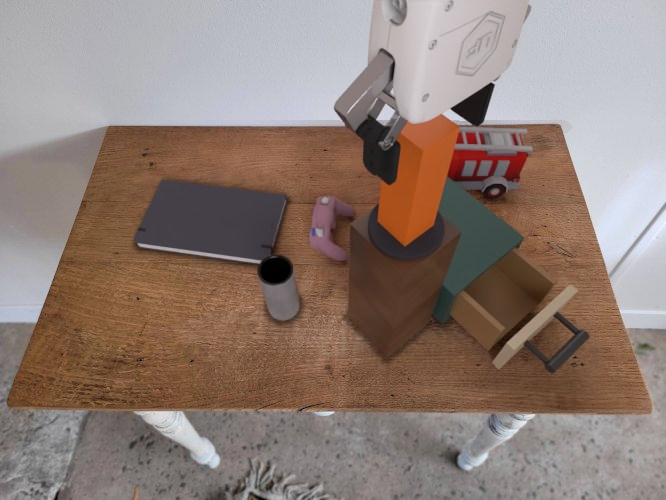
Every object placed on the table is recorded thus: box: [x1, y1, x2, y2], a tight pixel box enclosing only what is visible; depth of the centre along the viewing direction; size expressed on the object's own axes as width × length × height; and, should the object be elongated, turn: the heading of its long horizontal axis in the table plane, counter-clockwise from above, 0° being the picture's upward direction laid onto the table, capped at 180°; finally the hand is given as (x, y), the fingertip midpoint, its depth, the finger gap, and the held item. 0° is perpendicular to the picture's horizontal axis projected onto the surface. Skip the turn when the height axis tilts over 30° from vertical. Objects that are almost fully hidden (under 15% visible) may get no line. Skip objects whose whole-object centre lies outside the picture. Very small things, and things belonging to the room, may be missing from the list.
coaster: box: [368, 203, 444, 259], centre depth 49 cm, size 8×8×1 cm
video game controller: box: [308, 195, 355, 262], centre depth 73 cm, size 10×5×7 cm, turn 172°
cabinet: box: [432, 177, 525, 325], centre depth 69 cm, size 15×14×9 cm
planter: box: [256, 254, 301, 321], centre depth 64 cm, size 4×4×10 cm
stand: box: [347, 207, 462, 359], centre depth 58 cm, size 8×8×22 cm
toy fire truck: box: [447, 126, 534, 200], centre depth 77 cm, size 9×19×10 cm, turn 90°
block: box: [378, 113, 461, 246], centre depth 43 cm, size 4×4×13 cm
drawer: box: [449, 247, 591, 374], centre depth 63 cm, size 18×12×7 cm
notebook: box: [133, 178, 288, 266], centre depth 76 cm, size 13×2×21 cm
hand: (424, 143), depth 39 cm, fingers open, 9 cm apart
